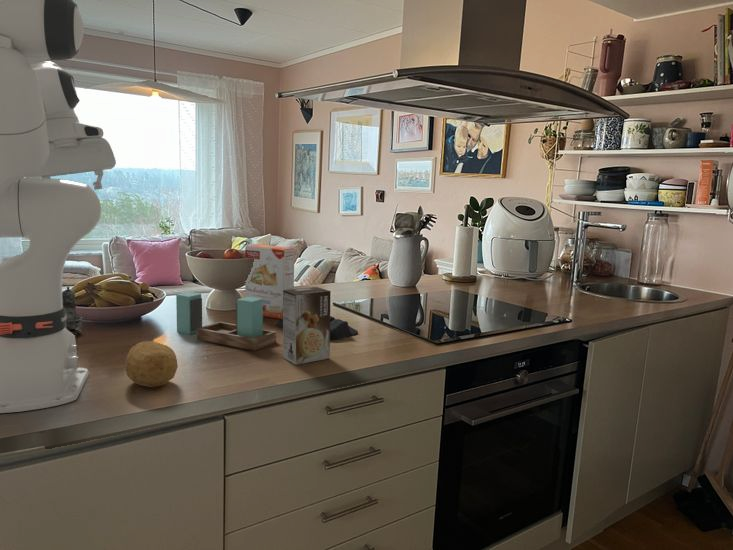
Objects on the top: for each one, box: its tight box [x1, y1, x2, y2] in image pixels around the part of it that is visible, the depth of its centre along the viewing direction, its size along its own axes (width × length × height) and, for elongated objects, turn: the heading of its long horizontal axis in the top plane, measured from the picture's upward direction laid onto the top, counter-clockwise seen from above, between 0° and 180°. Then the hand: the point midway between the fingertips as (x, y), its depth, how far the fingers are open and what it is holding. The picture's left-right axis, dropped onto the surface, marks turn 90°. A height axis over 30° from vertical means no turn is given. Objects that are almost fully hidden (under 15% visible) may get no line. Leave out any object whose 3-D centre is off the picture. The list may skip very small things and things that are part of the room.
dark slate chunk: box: [274, 315, 359, 341], centre depth 152 cm, size 15×22×5 cm
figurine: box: [62, 286, 83, 335], centre depth 140 cm, size 6×6×12 cm
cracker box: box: [244, 243, 295, 320], centre depth 165 cm, size 14×6×21 cm, turn 64°
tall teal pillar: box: [175, 291, 203, 336], centre depth 145 cm, size 5×4×10 cm
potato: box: [124, 340, 178, 388], centre depth 108 cm, size 10×14×8 cm
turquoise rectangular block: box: [235, 296, 264, 338], centre depth 137 cm, size 5×4×10 cm
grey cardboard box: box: [282, 286, 332, 366], centre depth 126 cm, size 9×6×16 cm
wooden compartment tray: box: [196, 321, 277, 352], centre depth 139 cm, size 18×9×3 cm, turn 64°
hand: (78, 192), depth 133 cm, fingers open, 8 cm apart
